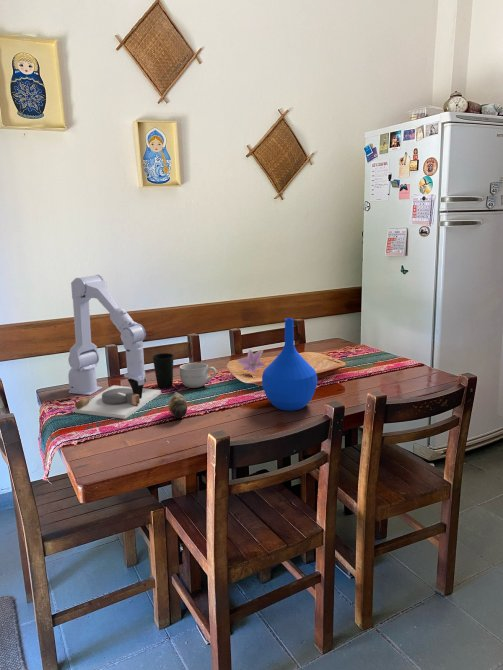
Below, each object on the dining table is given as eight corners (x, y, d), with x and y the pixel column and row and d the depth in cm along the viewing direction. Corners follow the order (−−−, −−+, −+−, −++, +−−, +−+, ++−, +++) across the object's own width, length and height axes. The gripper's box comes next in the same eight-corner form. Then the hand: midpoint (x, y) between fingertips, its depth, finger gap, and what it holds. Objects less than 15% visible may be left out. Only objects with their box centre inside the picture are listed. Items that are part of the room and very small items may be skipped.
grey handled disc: (95, 399, 179) (94, 391, 179) (121, 390, 188) (120, 382, 187) (124, 409, 170) (123, 400, 169) (149, 399, 179) (149, 390, 178)
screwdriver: (81, 408, 172) (80, 402, 172) (75, 408, 173) (74, 402, 172) (97, 399, 180) (96, 392, 180) (92, 399, 181) (90, 393, 181)
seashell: (166, 413, 170) (164, 390, 168) (182, 410, 172) (181, 387, 170) (173, 424, 162) (172, 400, 160) (191, 420, 164) (190, 397, 162)
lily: (236, 372, 213) (230, 356, 207) (260, 358, 216) (255, 342, 210) (251, 389, 205) (245, 372, 198) (275, 374, 207) (270, 357, 201)
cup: (171, 390, 191) (169, 359, 188) (151, 389, 193) (149, 358, 190) (178, 383, 199) (176, 353, 196) (159, 382, 200) (157, 352, 197)
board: (73, 412, 173) (72, 408, 173) (113, 388, 195) (113, 384, 195) (125, 418, 167) (124, 414, 166) (160, 393, 189) (160, 389, 188)
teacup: (175, 388, 193) (173, 368, 191) (189, 379, 203) (188, 359, 201) (208, 392, 188) (207, 371, 186) (221, 383, 198) (220, 363, 196)
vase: (253, 401, 179) (251, 316, 172) (300, 392, 186) (300, 311, 179) (277, 420, 163) (275, 328, 155) (327, 410, 170) (328, 321, 162)
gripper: (118, 356, 179) (121, 393, 182) (128, 368, 166) (131, 408, 169) (139, 354, 182) (141, 390, 185) (149, 365, 169) (152, 404, 172)
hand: (138, 398), depth 177 cm, fingers closed, pressing on grey handled disc
